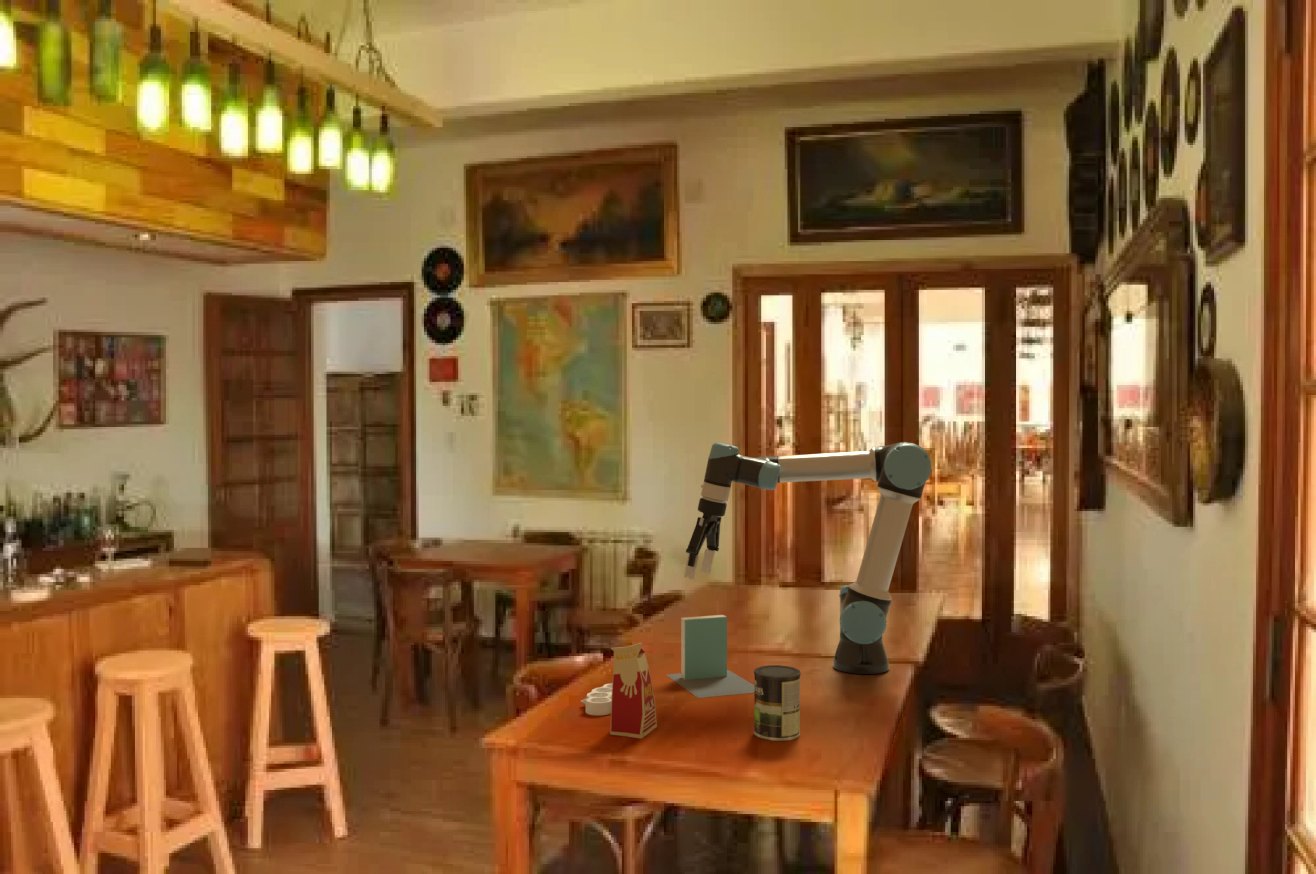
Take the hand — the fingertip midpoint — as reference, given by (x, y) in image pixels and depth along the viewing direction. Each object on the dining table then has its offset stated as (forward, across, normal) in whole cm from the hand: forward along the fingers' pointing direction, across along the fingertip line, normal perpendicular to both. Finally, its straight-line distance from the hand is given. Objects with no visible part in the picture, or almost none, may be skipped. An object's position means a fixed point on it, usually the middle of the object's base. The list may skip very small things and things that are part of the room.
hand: (697, 575), depth 279 cm
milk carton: (+28, +52, +8) cm, 60 cm away
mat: (+25, +8, +13) cm, 30 cm away
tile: (+25, +4, +9) cm, 27 cm away
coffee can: (+21, +42, +39) cm, 61 cm away
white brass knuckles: (+30, +35, -3) cm, 46 cm away
